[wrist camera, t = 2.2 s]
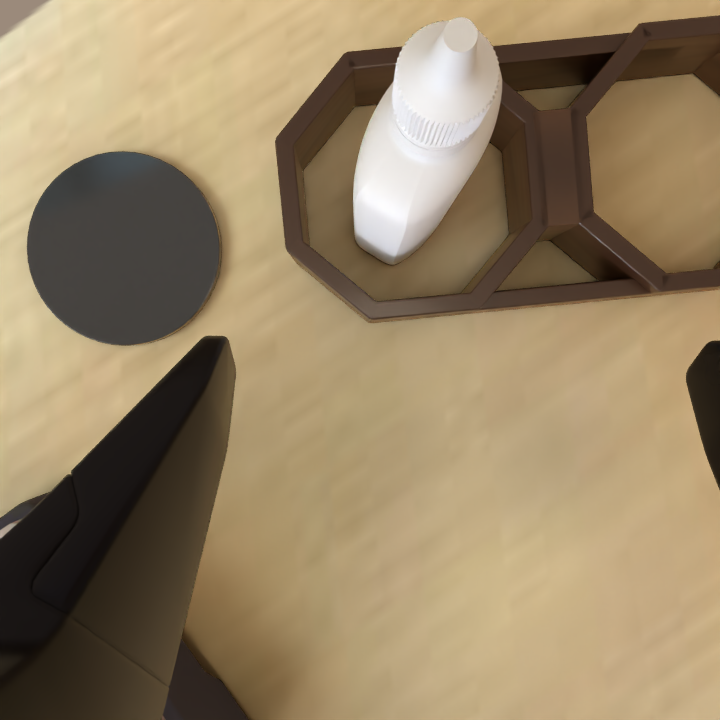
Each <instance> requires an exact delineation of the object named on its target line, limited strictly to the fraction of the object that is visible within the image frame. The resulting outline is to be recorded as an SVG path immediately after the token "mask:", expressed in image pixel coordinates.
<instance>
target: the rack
mask: <svg viewBox="0 0 720 720" xmlns="http://www.w3.org/2000/svg"><path fill="white" fill-rule="evenodd" d="M493 50H494V51H495V52H496V53H495V54H496V56H497V57H498V58H497V60H498V62H499V65H498V66H499V67H500V72H501V76H502V95H501V102H500V107H499V112H498V116H497V120H496V124H495V127H494V130H493V133H492V136H491V138H490V140H489V141H490V142H491V143H492V144H493V145H495V146H496V147H497V148H498V149H499V150H500V151H502V156H503V167H504V179H505V191H506V202H507V214H508V226H509V236H508V237H507V238H506V239H505V241H504V242H503V243H502V244H501V245H500V247H499V248H498V249H497V250H496V251H495V253H494V254H493V255H492V256H491V258H490V259H489V260H488V261H487V262H486V264H485V265H484V266H483V267H482V268H481V270H480V271H479V272H478V273H477V274H476V276H475V277H474V278H473V279H472V280H471V282H470V283H469V284H468V285H467V286H466V288H465V289H464V290H463V291H462V293H459V294H449V295H438V296H428V297H417V298H407V299H397V300H386V301H375V300H374V299H373V298H372V297H370V296H369V295H368V294H367V293H366V292H364V291H363V290H362V289H361V288H360V287H358V286H357V285H356V284H355V283H353V282H352V281H351V280H350V279H349V278H347V277H346V276H345V275H344V274H343V273H341V272H340V271H339V270H338V269H337V268H335V267H334V266H333V265H332V264H331V263H329V262H328V261H327V260H326V259H324V258H323V257H322V256H321V255H320V254H318V253H317V252H316V251H315V250H314V249H312V248H311V247H310V243H309V233H308V223H307V213H306V203H305V192H304V182H303V172H302V171H303V170H304V168H305V167H306V166H307V165H308V163H309V162H310V161H311V160H312V158H313V157H314V156H315V155H316V154H317V152H318V151H319V150H320V149H321V147H322V146H323V145H324V144H325V142H326V141H327V140H328V139H329V137H330V136H331V135H332V134H333V133H334V131H335V130H336V129H337V128H338V126H339V125H340V124H341V123H342V121H343V120H344V119H345V118H346V117H347V115H348V114H349V113H350V112H351V110H352V109H353V108H354V107H355V106H359V105H370V104H379V102H380V100H381V99H382V97H383V95H384V94H385V92H386V91H387V89H388V88H389V87H390V85H391V84H392V83H393V81H394V75H395V68H396V63H397V58H398V57H399V53H400V52H401V51H402V47H393V48H382V49H372V50H362V51H352V52H346V53H345V54H343V56H342V57H341V58H340V59H339V61H338V62H337V63H336V64H335V66H334V67H333V68H332V69H331V71H330V72H329V73H328V74H327V75H326V77H325V78H324V79H323V80H322V82H321V83H320V84H319V85H318V87H317V88H316V89H315V90H314V92H313V93H312V94H311V95H310V97H309V98H308V99H307V100H306V101H305V103H304V104H303V105H302V106H301V108H300V109H299V110H298V111H297V113H296V114H295V115H294V116H293V118H292V119H291V120H290V121H289V123H288V124H287V125H286V126H285V127H284V129H283V130H282V131H281V132H280V134H279V135H278V136H277V137H276V140H275V146H276V156H277V166H278V176H279V186H280V196H281V206H282V216H283V226H284V236H285V246H286V249H287V251H288V253H289V254H290V255H291V257H292V258H293V259H294V260H295V262H296V263H297V264H298V265H299V266H301V267H302V268H303V269H304V270H305V271H307V272H308V273H309V274H310V275H311V276H313V277H314V278H315V279H316V280H318V281H319V282H320V283H321V284H322V285H324V286H325V287H326V288H327V289H328V290H330V291H331V292H332V293H333V294H334V295H336V296H337V297H338V298H339V299H341V300H342V301H343V302H344V303H345V304H347V305H348V306H349V307H350V308H351V309H353V310H354V311H355V312H356V313H357V314H359V315H360V316H361V317H362V318H363V319H365V320H366V321H367V322H370V323H377V322H387V321H398V320H408V319H418V318H429V317H439V316H450V315H460V314H470V313H481V312H491V311H502V310H512V309H522V308H533V307H543V306H553V305H564V304H574V303H585V302H595V301H605V300H616V299H626V298H637V297H647V296H657V295H668V294H678V293H689V292H699V291H709V290H718V289H720V261H719V262H718V264H717V265H716V266H715V267H714V268H713V269H708V270H697V271H687V272H677V273H665V272H664V271H663V270H661V269H660V268H659V267H658V266H657V265H656V264H654V263H653V262H652V261H651V260H650V259H648V258H647V257H646V256H645V255H644V254H643V253H641V252H640V251H639V250H638V249H637V248H635V247H634V246H633V245H632V244H631V243H629V242H628V241H627V240H626V239H625V238H624V237H622V236H621V235H620V234H619V233H618V232H616V231H615V230H614V229H613V228H612V227H610V226H609V225H608V224H607V223H606V222H605V221H603V220H602V219H601V218H600V217H599V216H597V215H596V214H595V213H594V210H593V197H592V185H591V172H590V160H589V147H588V135H587V122H586V116H587V115H588V114H589V113H590V111H591V110H592V109H593V108H594V107H595V105H596V104H597V103H598V102H599V101H600V99H601V98H602V97H603V96H604V94H605V93H606V92H607V91H608V90H609V88H610V87H611V86H612V85H613V84H614V82H615V81H619V80H629V79H639V78H650V77H656V76H666V75H676V74H687V73H694V74H695V75H696V76H698V77H699V78H700V79H701V80H702V81H703V82H705V83H706V84H707V85H708V86H709V87H710V88H712V89H713V90H714V91H715V92H716V93H717V94H719V95H720V15H719V16H709V17H699V18H689V19H678V20H668V21H658V22H648V23H641V24H638V26H637V27H636V28H635V29H634V30H633V31H632V32H631V33H623V34H613V35H603V36H593V37H582V38H572V39H562V40H552V41H542V42H531V43H521V44H511V45H501V46H493ZM578 84H587V85H586V86H585V87H584V89H583V90H582V91H581V92H580V93H579V95H578V96H577V97H576V98H575V99H574V101H573V102H572V103H571V104H570V106H569V107H568V108H565V109H555V110H544V111H538V110H537V109H536V108H535V107H534V106H532V105H531V104H530V103H529V102H528V101H526V100H525V99H524V98H523V97H522V96H521V95H519V94H518V93H517V92H516V90H527V89H537V88H547V87H557V86H568V85H578ZM542 240H551V241H552V242H553V243H555V244H556V245H557V246H558V247H559V248H561V249H562V250H563V251H564V252H565V253H567V254H568V255H569V256H570V257H571V258H573V259H574V260H575V261H576V262H577V263H578V264H580V265H581V266H582V267H583V268H584V269H586V270H587V271H588V272H589V273H590V274H592V275H593V276H594V277H595V278H596V279H598V280H599V281H596V282H586V283H575V284H565V285H555V286H544V287H534V288H523V289H513V290H503V291H496V289H497V288H498V287H499V286H500V285H501V283H502V282H503V281H504V280H505V279H506V277H507V276H508V275H509V274H510V273H511V271H512V270H513V269H514V268H515V267H516V265H517V264H518V263H519V262H520V261H521V259H522V258H523V257H524V256H525V255H526V253H527V252H528V251H529V250H530V248H531V247H532V246H533V245H534V244H535V242H536V241H542Z"/></svg>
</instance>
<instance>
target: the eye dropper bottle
mask: <svg viewBox="0 0 720 720" xmlns="http://www.w3.org/2000/svg"><path fill="white" fill-rule="evenodd" d="M490 43H491V42H489V41H488V40H487V38H486V37H484V35H483V34H482V33H480V32H479V30H477V28H476V26H475V25H474V23H473V22H472V21H471V20H469V19H467V18H464V17H457V18H454V19H452V20H450V21H441V22H436V23H431V25H426V27H422V28H421V30H418V31H417V32H416V33H415V34H412V37H410V38H409V39H408V41H407V42H405V46H403V47H402V51H401V52H400V53H399V57H398V58H397V63H396V68H395V75H394V81H393V83H392V84H391V85H390V87H389V88H388V89H387V91H386V92H385V94H384V95H383V97H382V99H381V100H380V102H379V104H378V105H377V107H376V109H375V111H374V113H373V115H372V117H371V119H370V121H369V124H368V126H367V129H366V131H365V134H364V137H363V140H362V143H361V147H360V151H359V155H358V160H357V165H356V170H355V177H354V189H353V211H354V232H355V239H356V243H357V244H358V245H359V246H360V247H361V248H362V249H363V250H365V251H366V252H368V253H370V254H371V255H373V256H374V257H376V258H378V259H379V260H381V261H383V262H385V263H387V264H391V265H394V264H398V263H400V262H402V261H403V260H405V259H406V258H407V257H409V256H410V255H411V254H413V253H414V252H415V251H416V250H417V249H418V248H419V247H420V246H422V245H423V243H424V242H425V241H426V240H427V239H428V238H429V237H430V236H431V234H432V233H433V232H434V230H435V229H436V228H437V226H438V225H439V223H440V222H441V220H442V219H443V217H444V216H445V214H446V213H447V211H448V209H449V208H450V206H451V205H452V203H453V202H454V200H455V199H456V197H457V196H458V194H459V193H460V191H461V190H462V188H463V186H464V185H465V183H466V182H467V180H468V179H469V177H470V176H471V174H472V173H473V171H474V169H475V168H476V166H477V164H478V163H479V161H480V159H481V157H482V155H483V153H484V151H485V149H486V147H487V145H488V143H489V140H490V138H491V136H492V133H493V130H494V127H495V124H496V120H497V116H498V112H499V107H500V102H501V95H502V76H501V72H500V67H499V66H498V65H499V62H498V60H497V58H498V57H497V56H496V54H495V53H496V52H495V51H494V50H493V46H492V45H491V44H490Z"/></svg>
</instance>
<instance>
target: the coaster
mask: <svg viewBox="0 0 720 720" xmlns="http://www.w3.org/2000/svg"><path fill="white" fill-rule="evenodd" d="M27 255H28V263H29V268H30V273H31V276H32V279H33V282H34V284H35V287H36V289H37V291H38V293H39V295H40V297H41V298H42V299H43V301H44V302H45V304H46V305H47V307H48V308H49V309H50V310H51V311H52V313H53V314H54V315H55V316H56V317H57V318H58V319H59V320H60V321H62V322H63V323H64V324H65V325H66V326H68V327H69V328H71V329H72V330H74V331H75V332H77V333H79V334H81V335H83V336H85V337H87V338H89V339H92V340H95V341H98V342H102V343H107V344H112V345H141V344H146V343H151V342H155V341H158V340H161V339H164V338H166V337H168V336H170V335H172V334H174V333H176V332H177V331H179V330H180V329H182V328H183V327H185V326H186V325H187V324H188V323H189V322H190V321H192V320H193V319H194V318H195V317H196V316H197V314H198V313H199V312H200V311H201V310H202V309H203V307H204V306H205V304H206V303H207V301H208V300H209V298H210V296H211V294H212V292H213V290H214V288H215V285H216V282H217V279H218V276H219V271H220V266H221V255H222V247H221V236H220V231H219V226H218V223H217V220H216V217H215V214H214V212H213V210H212V208H211V206H210V204H209V202H208V201H207V199H206V198H205V196H204V195H203V193H202V192H201V191H200V190H199V188H198V187H197V186H196V185H195V184H194V183H193V182H192V181H191V180H190V179H189V178H188V177H187V176H186V175H184V174H183V173H182V172H181V171H179V170H178V169H176V168H175V167H174V166H172V165H170V164H168V163H166V162H164V161H162V160H161V159H158V158H155V157H152V156H149V155H146V154H141V153H136V152H124V151H122V152H108V153H103V154H98V155H95V156H92V157H89V158H86V159H84V160H82V161H80V162H78V163H76V164H74V165H72V166H71V167H69V168H68V169H66V170H65V171H63V172H62V173H61V174H60V175H59V176H58V177H57V178H55V179H54V180H53V182H52V183H51V184H50V185H49V186H48V187H47V189H46V190H45V192H44V193H43V195H42V196H41V198H40V199H39V201H38V203H37V205H36V207H35V209H34V212H33V215H32V218H31V221H30V225H29V231H28V237H27Z"/></svg>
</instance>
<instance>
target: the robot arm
mask: <svg viewBox="0 0 720 720" xmlns="http://www.w3.org/2000/svg"><path fill="white" fill-rule="evenodd" d="M235 380H236V367H235V362H234V359H233V355H232V351H231V347H230V343H229V340H228V339H227V337H225V336H205V337H203V338H202V339H201V340H200V341H199V342H198V343H197V344H196V345H195V346H194V347H193V348H192V349H191V350H190V351H189V352H188V353H187V354H186V355H185V356H184V357H183V358H182V359H181V360H180V361H179V362H178V363H177V364H176V365H175V366H174V367H173V368H172V369H171V370H170V371H169V372H168V373H167V374H166V375H165V376H164V377H163V378H162V379H161V380H160V381H159V382H158V383H157V384H156V385H155V386H154V388H153V389H152V390H151V391H150V392H149V393H148V394H147V395H146V396H145V397H144V398H143V399H142V400H141V401H140V402H139V403H138V404H137V405H136V406H135V407H134V408H133V409H132V410H131V411H130V412H129V413H128V414H127V415H126V416H125V417H124V418H123V419H122V420H121V421H120V422H119V423H118V424H117V425H116V426H115V427H114V428H113V429H112V430H111V431H110V432H109V433H108V434H107V435H106V436H105V437H104V438H103V439H102V440H101V441H100V442H99V443H98V444H97V445H96V446H95V447H94V448H93V449H92V450H91V451H90V452H89V453H88V454H87V455H86V456H85V457H84V458H83V459H82V460H81V462H80V463H79V464H78V465H77V466H76V467H75V468H74V469H73V470H72V471H71V474H68V475H66V476H65V477H64V478H63V480H62V481H61V482H60V483H59V484H58V485H57V486H56V487H55V488H54V489H53V490H52V491H51V492H50V493H49V494H48V495H47V496H46V497H44V498H43V499H42V500H41V501H40V502H39V503H38V504H37V505H36V506H35V507H34V508H33V509H32V510H31V511H30V512H29V513H28V514H27V515H26V516H25V517H24V518H23V519H22V520H20V521H19V522H18V523H17V524H16V525H15V526H14V527H13V528H12V529H10V530H9V531H8V532H7V533H6V534H5V535H4V536H3V537H1V538H0V720H162V716H163V712H164V708H165V704H166V700H167V696H168V691H169V688H168V686H169V685H170V682H171V678H172V674H173V670H174V666H175V662H176V658H177V654H178V650H179V645H180V641H181V637H182V633H183V629H184V625H185V621H186V617H187V613H188V609H189V604H190V600H191V596H192V592H193V588H194V584H195V580H196V576H197V572H198V568H199V563H200V559H201V555H202V551H203V547H204V543H205V539H206V535H207V531H208V527H209V522H210V518H211V514H212V510H213V506H214V502H215V498H216V494H217V490H218V486H219V481H220V477H221V473H222V469H223V465H224V461H225V457H226V452H227V447H228V440H229V432H230V423H231V414H232V406H233V397H234V388H235ZM686 383H687V387H688V391H689V394H690V398H691V402H692V406H693V410H694V413H695V417H696V421H697V425H698V429H699V432H700V436H701V440H702V443H703V447H704V450H705V453H706V456H707V459H708V462H709V464H710V467H711V469H712V472H713V474H714V477H715V480H716V482H717V485H718V487H719V490H720V341H711V342H709V343H707V344H706V345H705V346H704V348H703V349H702V350H701V352H700V353H699V355H698V356H697V357H696V359H695V360H694V361H693V363H692V364H691V365H690V367H689V368H688V370H687V373H686Z"/></svg>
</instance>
